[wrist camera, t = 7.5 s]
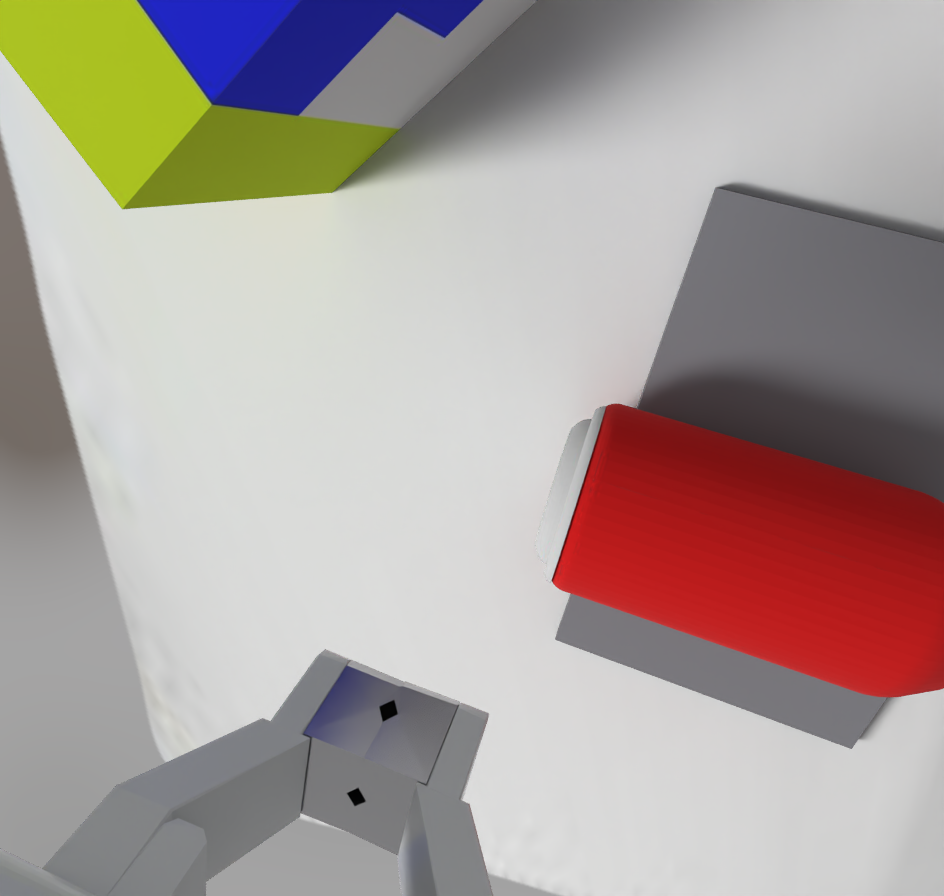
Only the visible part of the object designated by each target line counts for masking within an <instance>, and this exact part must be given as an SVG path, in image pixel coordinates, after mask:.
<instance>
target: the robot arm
mask: <svg viewBox="0 0 944 896" xmlns="http://www.w3.org/2000/svg"><path fill="white" fill-rule="evenodd" d="M488 716H489V713H486V712H484V711H481V710H479V709H476V708H474V707H471V706H468V705H466V704H463V703H460V702H459V701H457V700H454V699H451V698H449V697H446V696H443V695H441V694H438V693H435V692H433V691H430V690H427V689H425V688H422V687H419V686H416V685H414V684H411V683H408V682H403V681H401V680H399V679H396V678H394V677H391V676H389V675H387V674H384V673H382V672H379V671H377V670H375V669H372V668H370V667H368V666H365V665H363V664H360V663H358V662H356V661H353V660H350V659H348V658H345V657H343V656H340V655H338V654H336V653H333V652H331V651H328V650H326V649H325V650H324V651H323V652H321V653H320V654H319V655H318V656H317V657H316V658H315V660H314V661H313V663H312V664H311V665H310V667H309V668H308V670H307V671H306V672H305V674H304V675H303V677H302V678H301V679H300V681H299V682H298V684H297V685H296V686H295V688H294V689H293V691H292V692H291V693H290V695H289V696H288V697H287V699H286V700H285V702H284V703H283V704H282V706H281V707H280V709H279V710H278V711H277V713H276V714H275V716H274V717H273V718H272V720H271V721H269V720H266V719H264V718H262V719H260V720H257V721H255V722H253V723H251V724H249V725H247V726H244V727H242V728H240V729H238V730H236V731H234V732H231V733H229V734H227V735H225V736H223V737H221V738H218V739H216V740H214V741H212V742H210V743H208V744H205V745H203V746H201V747H199V748H197V749H195V750H192V751H190V752H188V753H186V754H184V755H182V756H179V757H177V758H175V759H173V760H171V761H169V762H166V763H164V764H162V765H160V766H158V767H156V768H153V769H151V770H149V771H147V772H145V773H143V774H140V775H138V776H136V777H134V778H132V779H130V780H127V781H126V782H123V783H121V784H119V785H117V786H115V788H113V790H112V791H111V792H110V793H109V794H108V795H107V796H106V798H105V799H104V800H103V801H102V802H101V803H100V804H99V805H98V806H97V808H96V809H95V810H94V811H93V812H92V813H91V814H90V815H89V816H88V818H87V819H86V820H85V821H84V822H83V823H82V824H81V825H80V827H79V828H78V829H77V830H76V831H75V833H73V834H72V836H71V837H70V838H69V839H68V840H67V841H66V842H65V843H64V845H63V846H62V847H61V848H60V849H59V850H58V851H57V852H56V854H55V855H54V856H53V857H52V858H51V859H50V860H49V861H48V863H47V864H46V865H45V866H44V867H43V868H40V867H38V866H36V865H34V864H32V863H30V862H27V861H25V860H23V859H21V858H19V857H17V856H15V855H13V854H11V853H9V852H7V851H5V850H3V849H1V848H0V896H206V881H208V880H209V879H211V878H212V877H214V876H215V875H216V874H218V873H219V872H221V871H222V870H224V869H225V868H227V867H228V866H230V865H231V864H232V863H234V862H235V861H237V860H238V859H240V858H241V857H242V856H244V855H245V854H247V853H248V852H250V851H251V850H252V849H254V848H255V847H257V846H258V845H260V844H261V843H263V842H264V841H265V840H267V839H268V838H269V837H271V836H272V835H274V834H276V833H277V832H278V831H280V830H281V829H283V828H284V827H285V826H287V825H289V824H290V823H291V822H293V821H294V820H296V819H297V818H299V817H300V813H302V814H305V815H307V816H310V817H312V818H315V819H317V820H320V821H322V822H324V823H327V824H329V825H332V826H334V827H337V828H339V829H342V830H344V831H347V832H349V833H352V834H354V835H356V836H358V837H360V838H362V839H364V840H366V841H369V842H371V843H373V844H375V845H377V846H379V847H381V848H383V849H386V850H388V851H390V852H392V853H394V854H396V855H398V858H397V860H398V870H399V879H400V888H401V896H493V893H492V889H491V885H490V881H489V878H488V874H487V870H486V866H485V862H484V858H483V854H482V851H481V847H480V843H479V839H478V835H477V831H476V828H475V824H474V820H473V816H472V812H471V808H470V804H468V803H466V802H464V801H462V799H463V796H464V793H465V790H466V787H467V784H468V781H469V778H470V774H471V771H472V768H473V765H474V762H475V759H476V755H477V752H478V749H479V746H480V743H481V740H482V736H483V733H484V730H485V727H486V724H487V720H488Z"/></svg>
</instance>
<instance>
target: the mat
mask: <svg viewBox="0 0 944 896" xmlns="http://www.w3.org/2000/svg"><path fill="white" fill-rule="evenodd" d="M637 409H639V410H642V411H646V412H649V413H653V414H656V415H659V416H663V417H666V418H670V419H673V420H677V421H680V422H683V423H687V424H690V425H694V426H697V427H701V428H704V429H707V430H711V431H714V432H718V433H721V434H725V435H728V436H732V437H735V438H738V439H742V440H745V441H749V442H752V443H756V444H759V445H762V446H766V447H769V448H773V449H776V450H780V451H783V452H786V453H790V454H793V455H797V456H800V457H804V458H807V459H810V460H814V461H817V462H821V463H824V464H828V465H831V466H835V467H838V468H841V469H845V470H848V471H852V472H855V473H859V474H862V475H865V476H869V477H872V478H876V479H879V480H883V481H886V482H889V483H893V484H896V485H900V486H903V487H907V488H910V489H914V490H917V491H920V492H923V493H926V494H928V495H930V496H932V497H934V498H936V499H938V500H940V501H941V502H943V503H944V243H943V242H939V241H935V240H931V239H926V238H922V237H918V236H914V235H910V234H906V233H902V232H897V231H893V230H889V229H885V228H881V227H877V226H873V225H869V224H864V223H860V222H856V221H852V220H848V219H844V218H840V217H836V216H831V215H827V214H823V213H819V212H815V211H811V210H807V209H802V208H798V207H794V206H790V205H786V204H782V203H778V202H774V201H769V200H765V199H761V198H757V197H753V196H749V195H745V194H741V193H736V192H732V191H728V190H724V189H720V188H715V190H714V193H713V196H712V199H711V202H710V204H709V207H708V210H707V213H706V216H705V218H704V221H703V224H702V227H701V230H700V232H699V235H698V238H697V241H696V244H695V246H694V249H693V252H692V255H691V258H690V260H689V263H688V266H687V269H686V272H685V275H684V277H683V280H682V283H681V286H680V289H679V291H678V294H677V297H676V300H675V303H674V305H673V308H672V311H671V314H670V317H669V319H668V322H667V325H666V328H665V331H664V333H663V336H662V339H661V342H660V345H659V347H658V350H657V353H656V356H655V359H654V362H653V364H652V367H651V370H650V373H649V376H648V378H647V381H646V384H645V387H644V390H643V392H642V395H641V398H640V401H639V404H638V406H637ZM555 640H558V641H560V642H563V643H566V644H568V645H571V646H574V647H577V648H579V649H582V650H585V651H587V652H590V653H593V654H596V655H598V656H601V657H604V658H606V659H609V660H612V661H615V662H617V663H620V664H623V665H625V666H628V667H631V668H634V669H636V670H639V671H642V672H644V673H647V674H650V675H652V676H655V677H658V678H661V679H663V680H666V681H669V682H671V683H674V684H677V685H680V686H682V687H685V688H688V689H690V690H693V691H696V692H699V693H701V694H704V695H707V696H709V697H712V698H715V699H718V700H720V701H723V702H726V703H728V704H731V705H734V706H736V707H739V708H742V709H745V710H747V711H750V712H753V713H755V714H758V715H761V716H764V717H766V718H769V719H772V720H774V721H777V722H780V723H783V724H785V725H788V726H791V727H793V728H796V729H799V730H802V731H804V732H807V733H810V734H812V735H815V736H818V737H821V738H823V739H826V740H829V741H831V742H834V743H837V744H839V745H842V746H845V747H848V748H850V749H852V748H853V746H854V745H855V743H856V742H857V740H858V739H859V738H860V736H861V735H862V733H863V732H864V730H865V729H866V728H867V726H868V725H869V723H870V722H871V720H872V719H873V718H874V716H875V715H876V713H877V712H878V710H879V709H880V708H881V706H882V705H883V703H884V702H885V700H886V699H887V697H875V696H870V695H865V694H861V693H858V692H855V691H852V690H849V689H846V688H843V687H840V686H838V685H835V684H832V683H829V682H826V681H823V680H820V679H817V678H814V677H811V676H809V675H806V674H803V673H800V672H797V671H794V670H791V669H788V668H785V667H783V666H780V665H777V664H774V663H771V662H768V661H765V660H762V659H759V658H756V657H754V656H751V655H748V654H745V653H742V652H739V651H736V650H733V649H730V648H727V647H725V646H722V645H719V644H716V643H713V642H710V641H707V640H704V639H701V638H698V637H696V636H693V635H690V634H687V633H684V632H681V631H678V630H675V629H672V628H669V627H667V626H664V625H661V624H658V623H655V622H652V621H649V620H646V619H643V618H640V617H638V616H635V615H632V614H629V613H626V612H623V611H620V610H617V609H614V608H611V607H609V606H606V605H603V604H600V603H597V602H594V601H591V600H588V599H585V598H583V597H580V596H577V595H574V594H570V597H569V600H568V603H567V606H566V608H565V611H564V614H563V617H562V620H561V623H560V625H559V628H558V631H557V634H556V638H555Z"/></svg>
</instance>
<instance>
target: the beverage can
mask: <svg viewBox="0 0 944 896" xmlns="http://www.w3.org/2000/svg"><path fill="white" fill-rule="evenodd" d="M535 547H536V552H537V555H538V558H539V559H540V560H541V561H542V562H543V563H544V564H546V567H545V572H544V576H545V578H546V580H547V581H548V582H549V583H551V580H552V582H553V584H554V585H555V586H556V587H557V588H559V589H560V590H562V591H565V592H568V593H571V594H574V595H577V596H580V597H583V598H585V599H588V600H591V601H594V602H597V603H600V604H603V605H606V606H609V607H611V608H614V609H617V610H620V611H623V612H626V613H629V614H632V615H635V616H638V617H640V618H643V619H646V620H649V621H652V622H655V623H658V624H661V625H664V626H667V627H669V628H672V629H675V630H678V631H681V632H684V633H687V634H690V635H693V636H696V637H698V638H701V639H704V640H707V641H710V642H713V643H716V644H719V645H722V646H725V647H727V648H730V649H733V650H736V651H739V652H742V653H745V654H748V655H751V656H754V657H756V658H759V659H762V660H765V661H768V662H771V663H774V664H777V665H780V666H783V667H785V668H788V669H791V670H794V671H797V672H800V673H803V674H806V675H809V676H811V677H814V678H817V679H820V680H823V681H826V682H829V683H832V684H835V685H838V686H840V687H843V688H846V689H849V690H852V691H855V692H858V693H861V694H865V695H870V696H875V697H901V696H906V695H912V694H918V693H923V692H929V691H935V690H940V689H943V688H944V503H943V502H941V501H940V500H938V499H936V498H934V497H932V496H930V495H928V494H926V493H923V492H920V491H917V490H914V489H910V488H907V487H903V486H900V485H896V484H893V483H889V482H886V481H883V480H879V479H876V478H872V477H869V476H865V475H862V474H859V473H855V472H852V471H848V470H845V469H841V468H838V467H835V466H831V465H828V464H824V463H821V462H817V461H814V460H810V459H807V458H804V457H800V456H797V455H793V454H790V453H786V452H783V451H780V450H776V449H773V448H769V447H766V446H762V445H759V444H756V443H752V442H749V441H745V440H742V439H738V438H735V437H732V436H728V435H725V434H721V433H718V432H714V431H711V430H707V429H704V428H701V427H697V426H694V425H690V424H687V423H683V422H680V421H677V420H673V419H670V418H666V417H663V416H659V415H656V414H653V413H649V412H646V411H642V410H639V409H635V408H632V407H629V406H625V405H622V404H611V405H608V406H603V407H600V408H598V409H596V410H595V413H594V415H593V418H592V419H587V420H583V421H581V422H579V423H577V424H576V425H575V426H574V427H572V429H571V431H570V433H569V436H568V439H567V441H566V444H565V447H564V450H563V453H562V456H561V459H560V462H559V465H558V468H557V471H556V474H555V477H554V480H553V484H552V487H551V490H550V493H549V496H548V500H547V503H546V506H545V510H544V513H543V516H542V520H541V523H540V527H539V530H538V534H537V538H536V542H535Z"/></svg>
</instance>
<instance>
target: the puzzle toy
mask: <svg viewBox="0 0 944 896" xmlns="http://www.w3.org/2000/svg"><path fill="white" fill-rule="evenodd" d="M536 1H537V0H0V51H1V52H2V54H3V55H4V56H5V58H6V59H7V60H8V61H9V63H10V64H11V65H12V67H13V68H14V69H15V71H16V72H17V73H18V74H19V76H20V77H21V78H22V80H23V81H24V82H25V84H26V85H27V86H28V87H29V89H30V90H31V91H32V93H33V94H34V95H35V97H36V98H37V99H38V100H39V102H40V103H41V104H42V106H43V107H44V108H45V110H46V111H47V112H48V113H49V115H50V116H51V117H52V119H53V120H54V121H55V122H56V124H57V125H58V126H59V128H60V129H61V130H62V132H63V133H64V134H65V135H66V137H67V138H68V139H69V141H70V142H71V143H72V145H73V146H74V147H75V148H76V150H77V151H78V152H79V154H80V155H81V156H82V158H83V159H84V160H85V161H86V163H87V164H88V165H89V167H90V168H91V169H92V171H93V172H94V173H95V174H96V176H97V177H98V178H99V180H100V181H101V182H102V184H103V185H104V186H105V187H106V189H107V190H108V191H109V193H110V194H111V195H112V197H113V198H114V199H115V200H116V202H117V203H118V204H119V206H120V207H121V208H122V209H131V208H144V207H156V206H169V205H182V204H194V203H207V202H220V201H232V200H245V199H258V198H271V197H283V196H296V195H309V194H321V193H332V192H333V191H334V190H335V189H337V188H338V187H339V186H340V185H341V184H342V183H343V182H344V181H345V180H346V179H347V178H348V177H349V176H350V175H351V174H353V173H354V172H355V171H356V170H357V169H358V168H359V167H360V166H361V165H362V164H363V163H364V162H365V161H366V160H367V159H369V158H370V157H371V156H372V155H373V154H374V153H375V152H376V151H377V150H378V149H379V148H380V147H381V146H382V145H383V144H385V143H386V142H387V141H388V140H389V139H390V138H391V137H392V136H393V135H394V134H395V133H396V132H397V131H398V130H400V129H401V128H402V127H403V126H404V125H405V124H406V123H407V122H408V121H409V120H410V119H411V118H412V117H413V116H414V115H416V114H417V113H418V112H419V111H420V110H421V109H422V108H423V107H424V106H425V105H426V104H427V103H428V102H429V101H430V100H432V99H433V98H434V97H435V96H436V95H437V94H438V93H439V92H440V91H441V90H442V89H443V88H444V87H445V86H446V85H448V84H449V83H450V82H451V81H452V80H453V79H454V78H455V77H456V76H457V75H458V74H459V73H460V72H461V71H462V70H464V69H465V68H466V67H467V66H468V65H469V64H470V63H471V62H472V61H473V60H474V59H475V58H476V57H477V56H478V55H480V54H481V53H482V52H483V51H484V50H485V49H486V48H487V47H488V46H489V45H490V44H491V43H492V42H493V41H494V40H496V39H497V38H498V37H499V36H500V35H501V34H502V33H503V32H504V31H505V30H506V29H507V28H508V27H509V26H510V25H512V24H513V23H514V22H515V21H516V20H517V19H518V18H519V17H520V16H521V15H522V14H523V13H524V12H525V11H526V10H528V9H529V8H530V7H531V6H532V5H533V4H534V3H535V2H536Z"/></svg>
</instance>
